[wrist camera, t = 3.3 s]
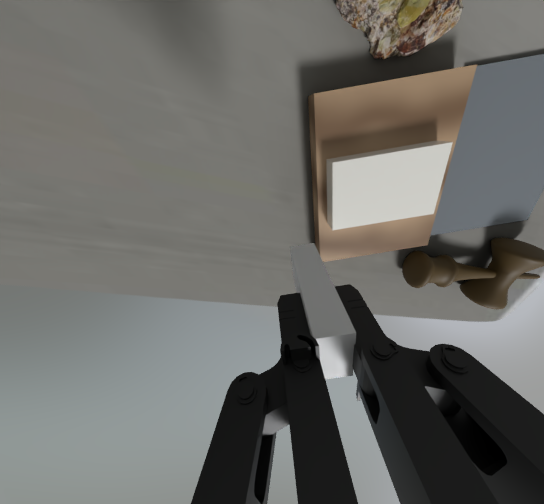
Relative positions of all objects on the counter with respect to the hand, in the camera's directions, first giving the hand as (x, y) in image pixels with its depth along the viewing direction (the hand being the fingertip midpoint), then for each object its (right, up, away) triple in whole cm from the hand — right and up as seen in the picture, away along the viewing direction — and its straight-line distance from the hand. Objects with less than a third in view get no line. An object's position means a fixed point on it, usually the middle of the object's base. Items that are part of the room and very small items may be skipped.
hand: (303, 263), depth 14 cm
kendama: (+27, -1, +20) cm, 34 cm away
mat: (+25, +12, +11) cm, 29 cm away
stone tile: (+9, +8, +9) cm, 15 cm away
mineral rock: (+8, +22, +4) cm, 24 cm away
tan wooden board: (+10, +9, +12) cm, 18 cm away
